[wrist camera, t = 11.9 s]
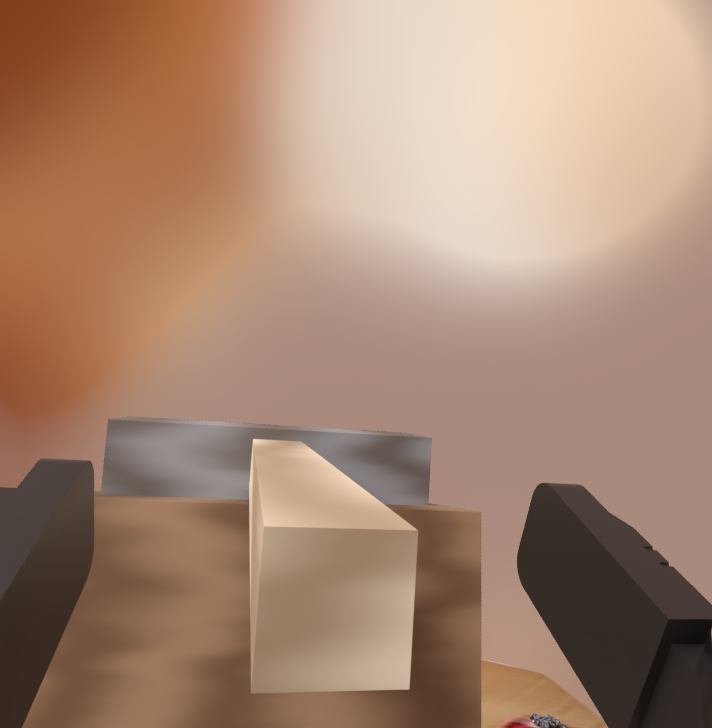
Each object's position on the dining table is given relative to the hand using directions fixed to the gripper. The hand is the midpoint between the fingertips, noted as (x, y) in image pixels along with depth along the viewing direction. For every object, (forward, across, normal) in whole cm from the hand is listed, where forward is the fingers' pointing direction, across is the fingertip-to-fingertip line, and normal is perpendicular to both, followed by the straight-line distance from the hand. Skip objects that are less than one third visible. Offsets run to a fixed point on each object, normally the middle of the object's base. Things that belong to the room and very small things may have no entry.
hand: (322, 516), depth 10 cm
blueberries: (+46, -45, +64) cm, 91 cm away
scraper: (+9, 0, +7) cm, 11 cm away
